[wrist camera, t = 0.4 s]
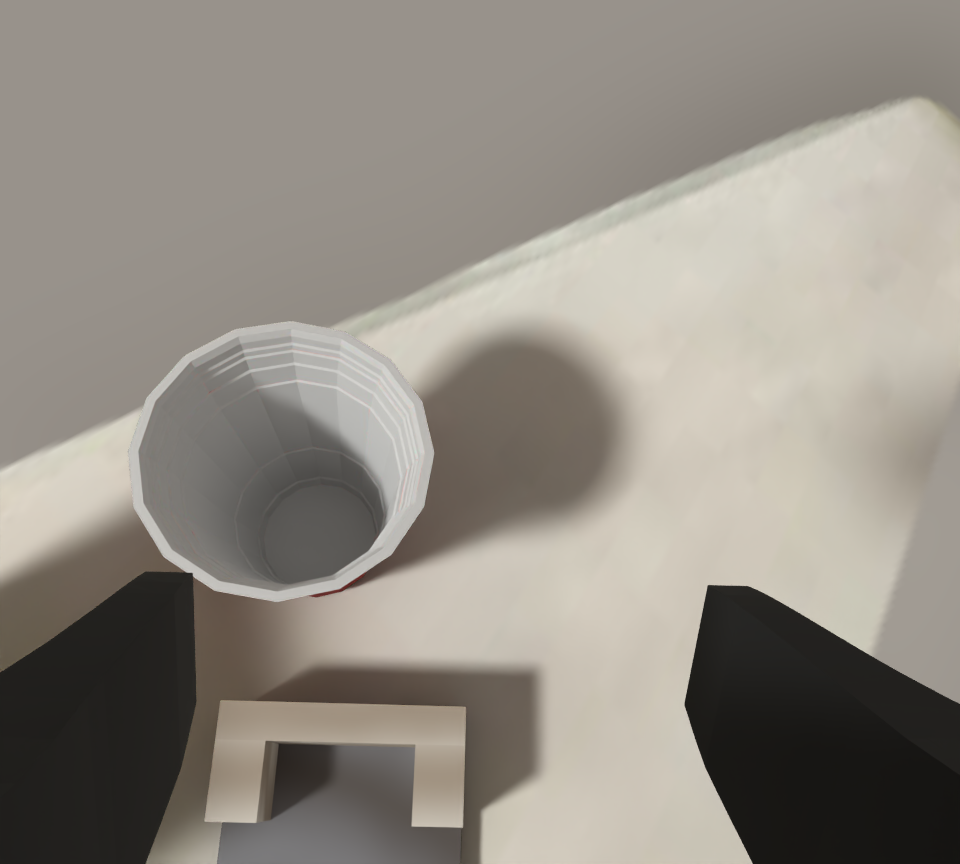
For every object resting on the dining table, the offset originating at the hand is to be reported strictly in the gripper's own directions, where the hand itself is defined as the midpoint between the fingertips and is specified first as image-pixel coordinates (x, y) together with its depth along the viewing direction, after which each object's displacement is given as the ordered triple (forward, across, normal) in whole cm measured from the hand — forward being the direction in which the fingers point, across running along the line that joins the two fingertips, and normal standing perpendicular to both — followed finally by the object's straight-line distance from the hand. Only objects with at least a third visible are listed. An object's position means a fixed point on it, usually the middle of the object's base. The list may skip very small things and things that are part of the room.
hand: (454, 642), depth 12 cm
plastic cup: (+28, +3, +13) cm, 31 cm away
